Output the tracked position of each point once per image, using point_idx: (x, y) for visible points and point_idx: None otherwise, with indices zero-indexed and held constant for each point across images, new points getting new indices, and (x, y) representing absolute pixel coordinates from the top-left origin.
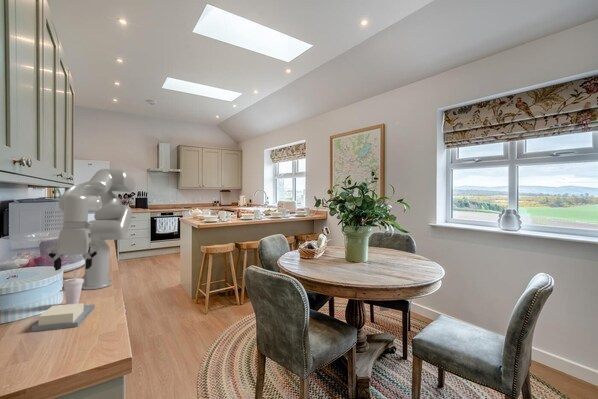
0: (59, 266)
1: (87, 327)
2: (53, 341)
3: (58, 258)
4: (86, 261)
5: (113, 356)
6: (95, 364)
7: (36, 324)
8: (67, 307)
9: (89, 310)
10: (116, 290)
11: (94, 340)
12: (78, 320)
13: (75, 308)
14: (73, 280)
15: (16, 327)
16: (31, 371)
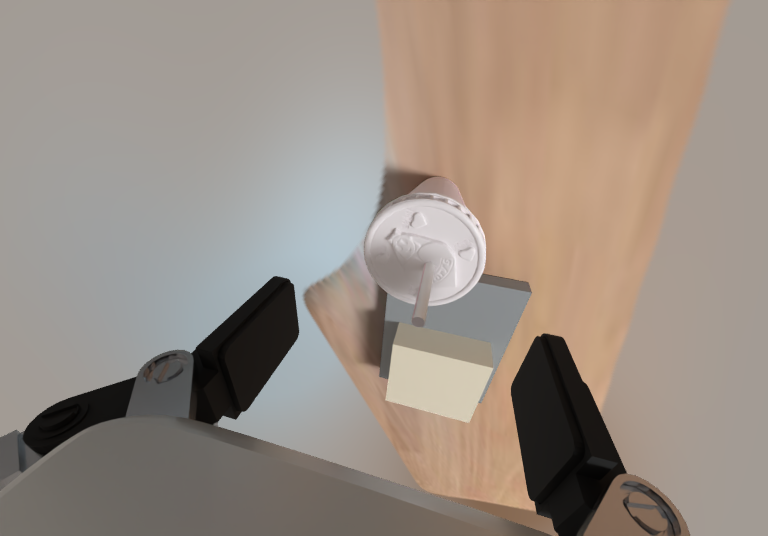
0: (281, 326)
1: (504, 404)
2: (441, 423)
3: (217, 416)
4: (532, 479)
5: None
6: (518, 504)
7: (384, 369)
8: (444, 379)
9: (510, 335)
10: None
11: (519, 456)
12: (481, 395)
13: (470, 396)
14: (422, 270)
15: (337, 328)
16: (434, 474)
